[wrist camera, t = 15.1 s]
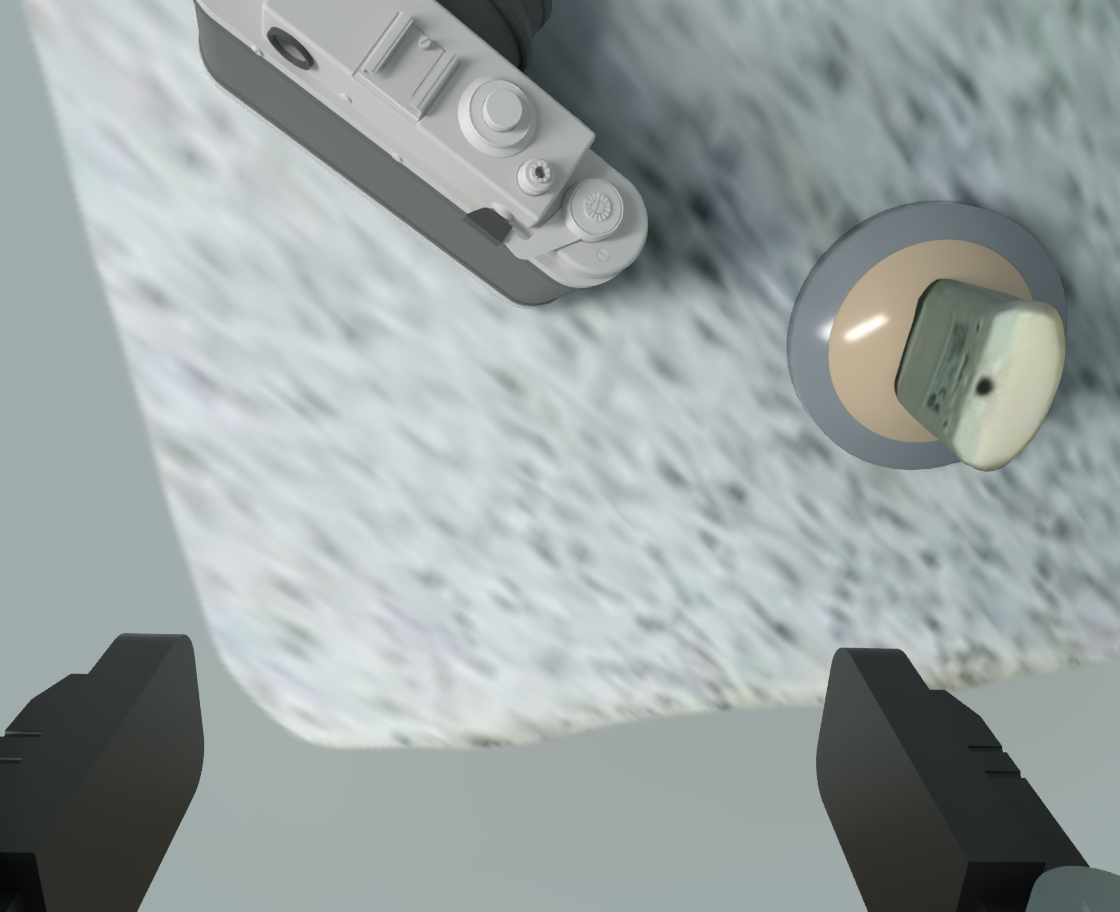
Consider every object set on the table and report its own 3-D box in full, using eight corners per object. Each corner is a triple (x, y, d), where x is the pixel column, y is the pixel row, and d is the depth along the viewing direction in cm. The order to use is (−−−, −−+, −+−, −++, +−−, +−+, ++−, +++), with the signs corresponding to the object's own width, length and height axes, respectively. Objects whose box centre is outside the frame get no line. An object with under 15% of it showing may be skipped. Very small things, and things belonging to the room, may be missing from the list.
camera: (527, 340, 37) (622, 314, 28) (168, 77, 33) (129, -66, 23) (646, 159, 39) (778, 72, 29) (316, -118, 34) (339, -332, 24)
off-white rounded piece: (848, 295, 37) (929, 345, 29) (976, 243, 36) (1092, 280, 29) (888, 421, 39) (973, 497, 31) (1009, 373, 38) (1126, 439, 31)
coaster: (782, 218, 37) (793, 223, 36) (1057, 185, 37) (1080, 188, 35) (790, 470, 41) (800, 485, 40) (1038, 441, 41) (1057, 455, 39)
